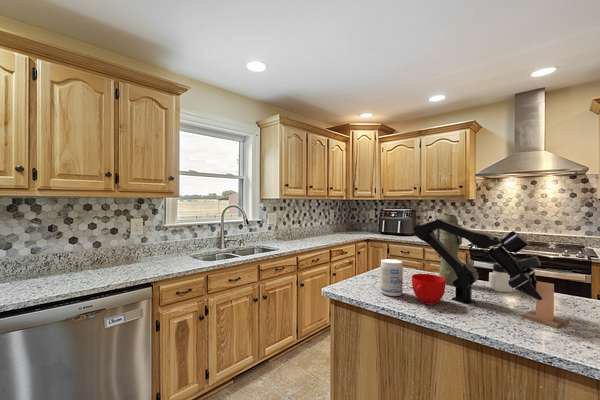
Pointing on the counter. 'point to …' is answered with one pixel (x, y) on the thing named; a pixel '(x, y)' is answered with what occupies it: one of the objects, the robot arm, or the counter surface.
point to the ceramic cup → (428, 287)
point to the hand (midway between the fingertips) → (542, 296)
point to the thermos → (453, 245)
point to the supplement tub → (391, 277)
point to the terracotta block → (545, 301)
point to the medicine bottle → (499, 280)
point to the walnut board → (555, 323)
